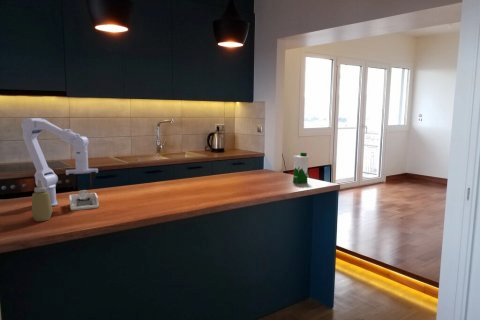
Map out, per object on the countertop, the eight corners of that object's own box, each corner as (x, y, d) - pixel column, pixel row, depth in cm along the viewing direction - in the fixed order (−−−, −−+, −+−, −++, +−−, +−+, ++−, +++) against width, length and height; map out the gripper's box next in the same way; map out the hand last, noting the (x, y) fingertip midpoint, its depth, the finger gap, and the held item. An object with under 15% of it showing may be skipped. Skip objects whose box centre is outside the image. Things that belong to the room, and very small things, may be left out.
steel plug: (80, 205, 181) (79, 192, 180) (79, 204, 184) (79, 190, 183) (88, 205, 182) (87, 191, 181) (87, 203, 185) (86, 189, 184)
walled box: (70, 210, 175) (70, 200, 174) (69, 204, 186) (69, 195, 185) (98, 207, 180) (98, 197, 180) (96, 201, 191) (95, 192, 191)
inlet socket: (76, 207, 178) (76, 202, 178) (76, 203, 185) (75, 198, 184) (92, 205, 181) (91, 200, 181) (90, 202, 188) (90, 197, 187)
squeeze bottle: (56, 217, 165) (53, 177, 162) (47, 222, 157) (44, 181, 154) (38, 217, 164) (35, 177, 162) (28, 222, 156) (25, 181, 154)
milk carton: (309, 183, 245) (310, 153, 242) (298, 184, 241) (298, 154, 238) (301, 180, 252) (302, 152, 250) (290, 181, 249) (291, 152, 246)
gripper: (65, 162, 173) (67, 190, 175) (98, 161, 180) (99, 188, 182) (65, 160, 179) (66, 187, 181) (96, 159, 186) (97, 185, 188)
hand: (83, 187), depth 182 cm, fingers open, 7 cm apart
